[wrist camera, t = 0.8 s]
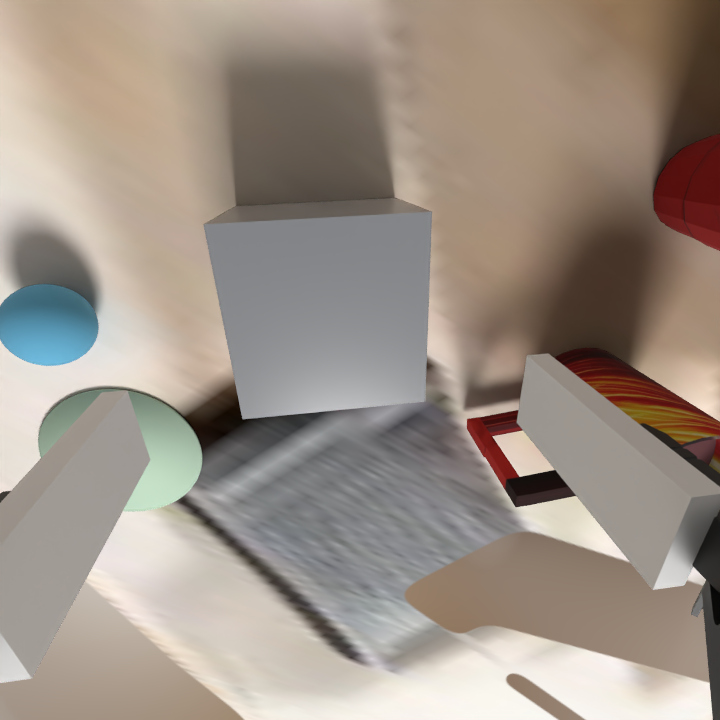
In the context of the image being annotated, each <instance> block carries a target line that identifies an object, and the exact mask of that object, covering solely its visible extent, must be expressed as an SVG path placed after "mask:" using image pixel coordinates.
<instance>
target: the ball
mask: <svg viewBox="0 0 720 720" xmlns="http://www.w3.org/2000/svg"><path fill="white" fill-rule="evenodd" d="M97 334H98V319H97V316H96V313H95V311H94V309H93V308H92V306H91V305H90V304H89V302H88V301H87V300H86V299H84V298H83V297H82V296H81V295H79V294H78V293H76V292H74V291H73V290H70V289H68V288H65V287H62V286H58V285H51V284H37V285H31V286H27V287H24V288H22V289H19V290H17V291H16V292H14V293H12V294H11V295H10V296H9V297H8V298H6V299H5V300H4V302H3V303H2V304H1V306H0V340H1V342H2V343H3V344H4V346H5V347H6V348H7V349H8V350H9V351H10V352H11V353H13V354H14V355H15V356H17V357H19V358H20V359H22V360H24V361H27V362H30V363H33V364H38V365H46V366H54V365H62V364H66V363H69V362H72V361H74V360H77V359H78V358H80V357H81V356H83V355H84V354H85V353H87V352H88V351H89V350H90V348H91V347H92V346H93V344H94V342H95V341H96V338H97Z"/></svg>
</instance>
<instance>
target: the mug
mask: <svg viewBox="0 0 720 720" xmlns="http://www.w3.org/2000/svg"><path fill="white" fill-rule="evenodd" d="M555 359H556V360H557V361H559V362H560V363H561V364H562V365H564V366H565V367H566V368H568V369H569V370H570V371H571V372H573V373H574V374H575V375H577V376H578V377H579V378H580V379H582V380H583V381H584V382H586V383H587V384H588V385H589V386H591V387H592V388H593V389H595V390H596V391H597V392H598V393H600V394H601V395H602V396H604V397H605V398H606V399H607V400H609V401H610V402H611V403H613V404H614V405H615V406H616V407H618V408H619V409H620V410H622V411H623V412H624V413H625V414H627V415H628V416H629V417H631V418H632V419H633V420H634V421H636V422H637V423H638V424H641V423H645V424H647V425H649V426H652V427H654V428H656V429H658V430H660V431H662V432H664V433H666V434H668V435H669V436H670V437H672V438H673V439H674V440H676V441H677V442H678V443H680V444H681V445H682V446H683V448H684V449H688V450H689V451H690V452H692V453H693V454H694V455H696V456H697V459H701V460H702V461H704V462H705V463H706V464H708V465H709V466H710V467H712V468H713V469H714V470H716V471H717V472H719V473H720V422H719V421H718V420H716V419H714V418H713V417H711V416H710V415H708V414H706V413H705V412H703V411H702V410H700V409H698V408H697V407H695V406H694V405H692V404H690V403H689V402H687V401H686V400H684V399H682V398H681V397H679V396H678V395H676V394H674V393H673V392H671V391H670V390H668V389H666V388H665V387H663V386H662V385H660V384H658V383H657V382H655V381H654V380H652V379H650V378H649V377H647V376H646V375H644V374H642V373H641V372H639V371H638V370H636V369H634V368H633V367H631V366H630V365H628V364H626V363H625V362H623V361H622V360H620V359H618V358H617V357H615V356H614V355H612V354H610V353H608V352H607V351H604V350H600V349H597V348H582V349H575V350H572V351H568V352H565V353H563V354H561V355H559V356H557V357H555ZM517 417H518V410H516V411H511V412H506V413H500V414H495V415H490V416H485V417H478V418H471V419H467V430H468V431H469V433H470V435H471V436H472V438H473V440H474V441H475V443H476V445H477V446H478V448H479V450H480V451H481V453H482V455H483V456H484V457H486V459H487V461H488V462H489V464H490V466H491V467H492V469H493V470H494V472H495V474H496V475H497V477H498V479H499V480H500V482H501V484H502V485H503V487H504V489H505V490H506V492H507V494H508V495H509V497H510V499H511V500H512V502H513V504H514V505H515V507H520V506H527V505H532V504H537V503H542V502H547V501H552V500H557V499H562V498H567V497H572V496H576V495H575V494H574V492H573V491H572V490H571V489H570V487H569V486H568V485H567V484H566V483H565V481H564V480H563V479H562V478H561V476H560V475H559V474H558V473H557V471H556V470H553V471H548V472H543V473H538V474H533V475H528V476H523V477H519V475H518V474H517V473H516V471H515V470H514V468H513V467H512V465H511V464H510V462H509V461H508V459H507V458H506V456H505V455H504V453H503V452H502V450H501V449H500V447H499V446H498V444H497V443H496V441H495V440H494V438H493V437H492V436H496V435H501V434H506V433H511V432H517V431H522V428H521V427H520V426H519V425H518V424H517Z"/></svg>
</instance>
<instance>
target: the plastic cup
mask: <svg viewBox="0 0 720 720" xmlns="http://www.w3.org/2000/svg"><path fill="white" fill-rule="evenodd" d="M654 210H655V212H656V214H657V215H658V217H659V219H660V221H661V222H663V223H665V225H667V226H668V227H670V228H672V229H674V230H676V231H677V232H680V233H682V234H685V235H687V236H690V237H692V238H694V239H696V240H698V241H700V242H702V243H703V244H705V245H707V246H710V247H712V248H714V249H717V250H719V251H720V134H717V135H713V136H710V137H707V138H705V139H703V140H700V141H698V142H696V143H693V144H691V145H689V146H686V147H684V148H683V149H682V150H681V151H680V152H678V153H677V154H676V155H675V156H674V157H673V158H672V159H670V160H669V162H668V163H667V165H666V167H665V168H664V170H663V171H662V173H661V174H660V176H659V178H658V181H657V184H656V188H655V191H654Z"/></svg>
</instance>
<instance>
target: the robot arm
mask: <svg viewBox="0 0 720 720" xmlns="http://www.w3.org/2000/svg"><path fill="white" fill-rule="evenodd" d="M517 424H518V425H519V426H520V427H521V428H522V430H523V431H524V432H525V433H526V435H527V436H528V437H529V438H530V440H531V441H532V442H533V443H534V444H535V446H536V447H537V448H538V449H539V451H540V452H541V453H542V454H543V456H544V457H545V458H546V459H547V460H548V462H549V463H550V464H551V465H552V467H553V468H554V469H555V470H556V471H557V473H558V474H559V475H560V476H561V478H562V479H563V480H564V481H565V483H566V484H567V485H568V486H569V487H570V489H571V490H572V491H573V492H574V494H575V495H576V496H577V497H578V499H579V500H580V501H581V502H582V503H583V505H584V506H585V507H586V508H587V510H588V511H589V512H590V513H591V515H592V516H593V517H594V518H595V519H596V521H597V522H598V523H599V524H600V526H601V527H602V528H603V529H604V530H605V532H606V533H607V534H608V535H609V537H610V538H611V539H612V540H613V542H614V543H615V544H616V545H617V546H618V548H619V549H620V550H621V551H622V553H623V554H624V555H625V556H626V558H627V559H628V560H629V561H630V562H631V564H632V565H633V566H634V567H635V569H636V570H637V571H638V572H639V573H640V575H641V576H642V577H643V578H644V580H645V581H646V582H647V583H648V584H649V586H650V587H651V588H652V589H653V590H655V589H661V588H669V587H676V586H683V585H685V583H686V581H687V579H688V576H689V574H690V572H691V570H692V568H693V566H694V567H695V569H696V570H697V571H698V572H699V573H700V574H701V575H702V576H703V577H704V578H705V579H706V582H705V584H704V586H703V588H702V590H701V592H700V594H699V596H698V598H697V600H696V602H695V604H694V606H693V609H692V612H691V615H694V616H696V617H697V616H698V615H699V613H700V611H701V609H703V610H704V619H705V620H704V621H705V632H706V644H707V656H708V667H709V679H710V690H711V702H712V713H713V720H720V473H719V472H717V471H716V470H714V469H713V468H712V467H710V466H709V465H708V464H706V463H705V462H704V461H702V460H701V459H697V456H696V455H694V454H693V453H692V452H690V451H689V450H688V449H684V448H683V446H682V445H681V444H680V443H678V442H677V441H676V440H674V439H673V438H672V437H670V436H669V435H668V434H666V433H664V432H662V431H660V430H658V429H656V428H654V427H652V426H649V425H647V424H645V423H641V424H638V423H637V422H636V421H634V420H633V419H632V418H631V417H629V416H628V415H627V414H625V413H624V412H623V411H622V410H620V409H619V408H618V407H616V406H615V405H614V404H613V403H611V402H610V401H609V400H607V399H606V398H605V397H604V396H602V395H601V394H600V393H598V392H597V391H596V390H595V389H593V388H592V387H591V386H589V385H588V384H587V383H586V382H584V381H583V380H582V379H580V378H579V377H578V376H577V375H575V374H574V373H573V372H571V371H570V370H569V369H568V368H566V367H565V366H564V365H562V364H561V363H560V362H559V361H557V360H556V359H555V358H553V357H552V356H551V355H550V354H537V355H527V358H526V365H525V371H524V378H523V384H522V391H521V397H520V404H519V410H518V417H517ZM149 462H150V457H149V454H148V451H147V448H146V445H145V442H144V439H143V436H142V433H141V430H140V427H139V424H138V421H137V418H136V415H135V412H134V409H133V406H132V403H131V400H130V397H129V394H128V391H127V390H124V391H113V392H102V393H101V394H100V395H99V396H98V397H97V398H96V399H95V400H94V402H93V403H92V404H91V405H90V406H89V407H88V408H87V409H86V410H85V411H84V412H83V413H82V415H81V416H80V417H79V418H78V419H77V420H76V421H75V422H74V423H73V424H72V425H71V427H70V428H69V429H68V430H67V431H66V432H65V433H64V434H63V435H62V436H61V437H60V438H59V440H58V441H57V442H56V443H55V444H54V445H53V446H52V447H51V448H50V449H49V450H48V452H47V453H46V454H45V455H44V456H43V457H42V458H41V459H40V460H39V461H38V462H37V463H36V465H35V466H34V467H33V468H32V469H31V470H30V471H29V472H28V473H27V474H26V475H25V477H24V478H23V479H22V480H21V481H20V482H19V483H18V484H17V485H16V486H15V487H14V488H13V490H12V491H6V492H2V493H1V494H0V683H3V682H10V681H17V680H24V679H31V678H33V676H34V674H35V672H36V670H37V668H38V666H39V665H40V663H41V661H42V659H43V657H44V655H45V654H46V652H47V650H48V648H49V646H50V644H51V642H52V640H53V639H54V637H55V635H56V633H57V631H58V630H59V628H60V626H61V624H62V622H63V620H64V618H65V617H66V615H67V613H68V611H69V609H70V607H71V605H72V604H73V602H74V600H75V598H76V596H77V594H78V593H79V591H80V589H81V587H82V585H83V583H84V582H85V580H86V578H87V576H88V574H89V572H90V570H91V569H92V567H93V565H94V563H95V561H96V559H97V558H98V556H99V554H100V552H101V550H102V548H103V546H104V545H105V543H106V541H107V539H108V537H109V535H110V534H111V532H112V530H113V528H114V526H115V524H116V523H117V521H118V519H119V517H120V515H121V513H122V511H123V510H124V508H125V506H126V504H127V502H128V500H129V499H130V497H131V495H132V493H133V491H134V489H135V487H136V486H137V484H138V482H139V480H140V478H141V476H142V475H143V473H144V471H145V469H146V467H147V465H148V463H149Z"/></svg>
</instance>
